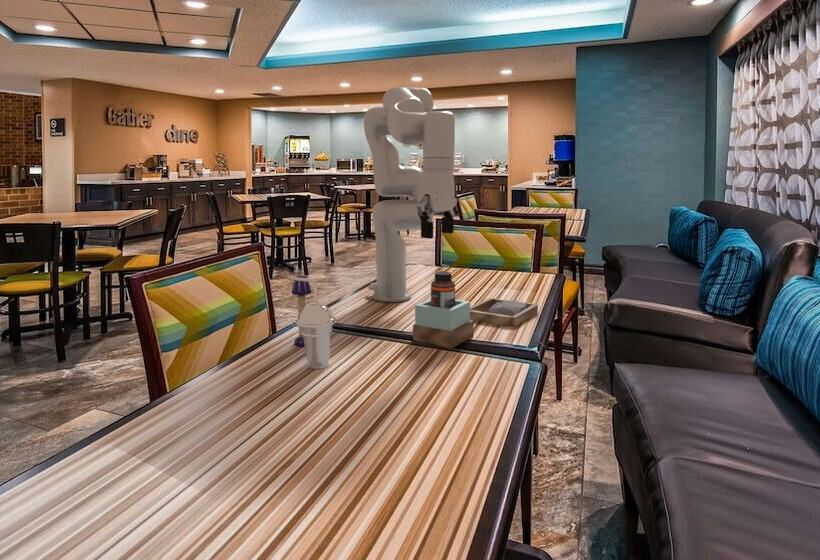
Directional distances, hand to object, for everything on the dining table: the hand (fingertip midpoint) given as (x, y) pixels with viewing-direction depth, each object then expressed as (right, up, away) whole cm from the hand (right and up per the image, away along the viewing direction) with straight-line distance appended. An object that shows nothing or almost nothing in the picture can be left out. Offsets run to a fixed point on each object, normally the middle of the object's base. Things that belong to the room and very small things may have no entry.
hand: (437, 235), depth 135 cm
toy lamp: (-33, -27, -2) cm, 42 cm away
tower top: (+1, -22, 0) cm, 22 cm away
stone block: (+21, -22, +21) cm, 37 cm away
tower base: (+2, -26, +1) cm, 26 cm away
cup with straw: (-27, -30, -17) cm, 44 cm away
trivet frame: (+20, -21, +21) cm, 36 cm away
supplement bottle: (+1, -21, 0) cm, 21 cm away
